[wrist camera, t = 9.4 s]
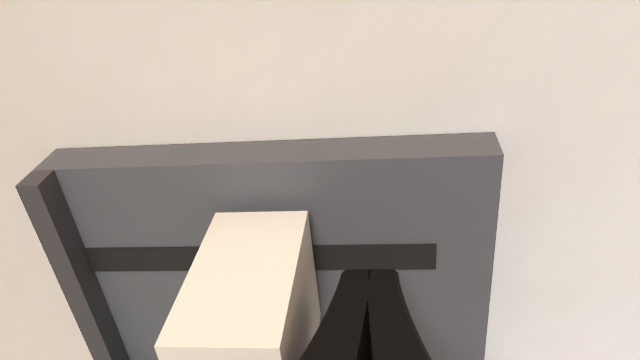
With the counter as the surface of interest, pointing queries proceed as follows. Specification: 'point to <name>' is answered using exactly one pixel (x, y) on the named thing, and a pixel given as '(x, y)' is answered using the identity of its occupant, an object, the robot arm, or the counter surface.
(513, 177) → the counter surface
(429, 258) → the fader console
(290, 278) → the ivory fader
